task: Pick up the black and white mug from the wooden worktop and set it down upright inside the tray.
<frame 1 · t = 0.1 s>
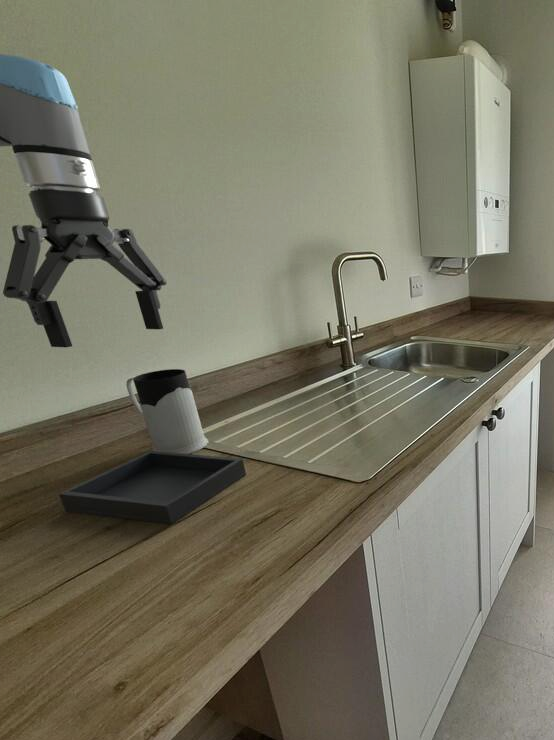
hand: (113, 337, 65), 24 cm above the table, tool pointing down, fingers open, 13 cm apart
black and white mug: (171, 446, 81), on the table
tray: (162, 491, 66), on the table
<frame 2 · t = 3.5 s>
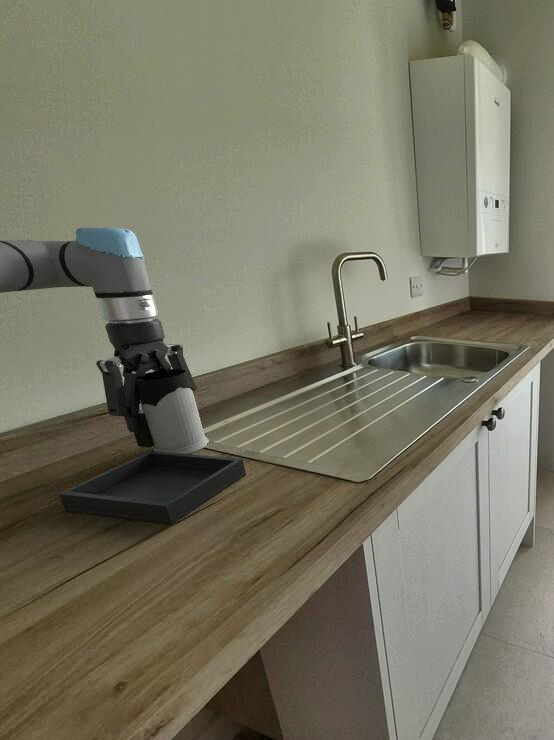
hand: (167, 436, 80), 2 cm above the table, tool pointing down, fingers closed on black and white mug, 7 cm apart
black and white mug: (172, 446, 81), on the table, touching gripper
when the fingers open (3 cm above the table, at t = 11.3 s): black and white mug stays where it is, resting on tray.
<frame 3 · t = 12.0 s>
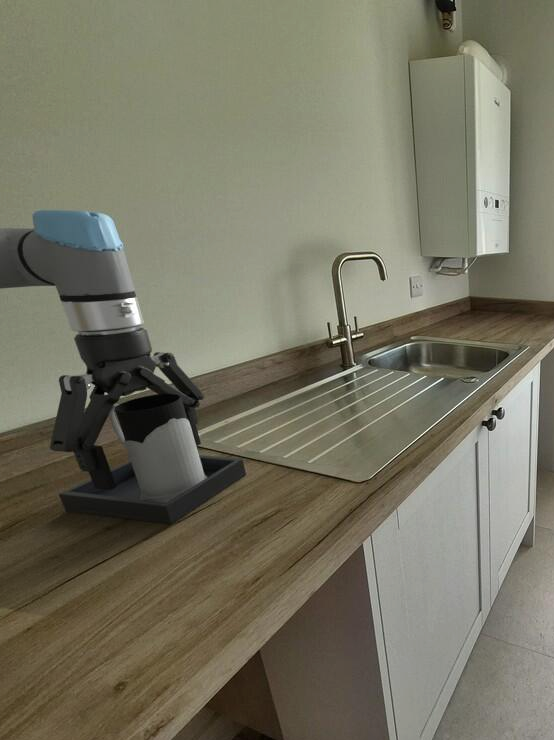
hand: (153, 464, 64), 5 cm above the table, tool pointing down, fingers open, 13 cm apart
black and white mug: (164, 488, 66), resting on tray
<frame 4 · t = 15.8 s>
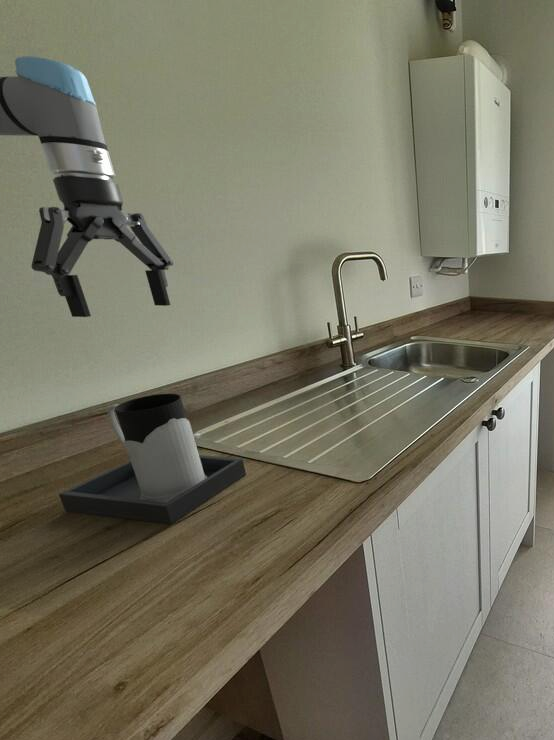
hand: (125, 310, 73), 27 cm above the table, tool pointing down, fingers open, 13 cm apart
nothing on the table moved.
at the end: black and white mug 0.4 cm off-centre in the tray, point 0.4 cm above the tray's base; black and white mug tilted 0°; the gripper is holding nothing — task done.
